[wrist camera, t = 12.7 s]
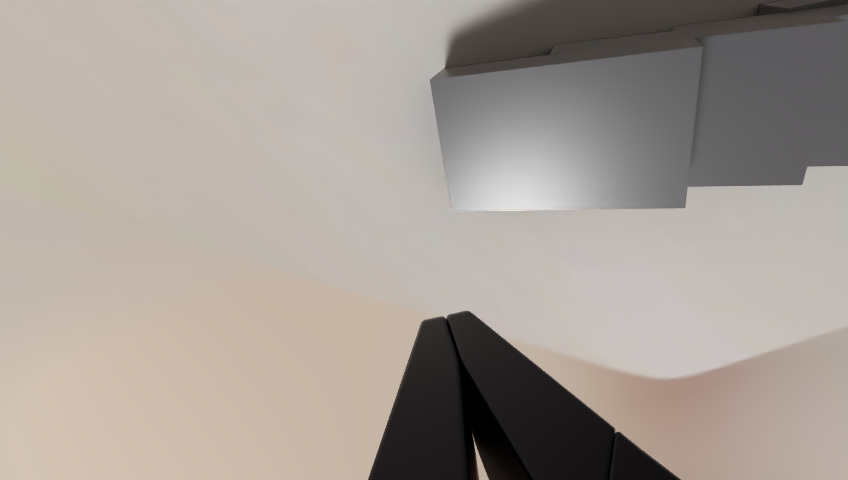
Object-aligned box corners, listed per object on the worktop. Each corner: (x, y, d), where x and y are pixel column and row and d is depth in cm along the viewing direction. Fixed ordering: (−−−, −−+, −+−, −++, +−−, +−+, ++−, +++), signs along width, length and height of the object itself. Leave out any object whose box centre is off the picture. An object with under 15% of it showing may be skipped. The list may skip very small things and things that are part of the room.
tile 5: (444, 68, 17) (692, 35, 14) (462, 191, 19) (677, 184, 17) (429, 79, 16) (702, 46, 13) (451, 211, 18) (685, 207, 15)
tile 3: (672, 26, 17) (964, -11, 14) (661, 152, 20) (908, 143, 17) (675, 35, 16) (1001, -4, 13) (663, 169, 18) (933, 163, 15)
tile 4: (554, 45, 17) (820, 12, 14) (556, 170, 20) (784, 164, 17) (549, 54, 16) (845, 20, 13) (553, 188, 18) (802, 184, 15)
